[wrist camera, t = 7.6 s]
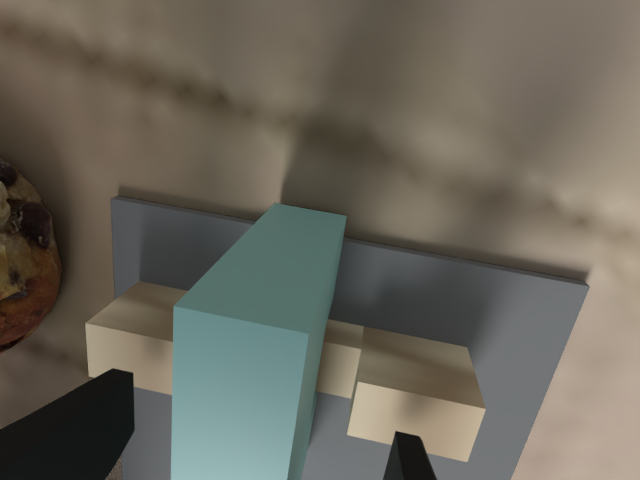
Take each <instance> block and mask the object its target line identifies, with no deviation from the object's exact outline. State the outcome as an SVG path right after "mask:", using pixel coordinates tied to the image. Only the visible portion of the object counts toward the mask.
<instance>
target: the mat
mask: <svg viewBox="0 0 640 480" xmlns="http://www.w3.org/2000/svg"><path fill="white" fill-rule="evenodd" d="M111 218H112V243H113V267H114V291H115V299H117V298H118V297H119V296H121V295H122V294H123V293H124V292H126V291H127V290H128V289H130V288H131V287H132V286H133V285H135V284H136V283H137V282H139V281H141V282H146V283H151V284H156V285H161V286H166V287H171V288H176V289H181V290H186V291H189V290H190V289H191V288H192V287H193V286H194V285H195V284H196V283H197V282H198V281H199V280H200V279H201V278H202V277H203V276H204V275H205V274H206V272H207V271H208V270H209V269H210V268H211V267H212V266H213V265H214V264H215V263H216V262H217V261H218V260H219V259H220V258H221V257H222V256H223V255H224V254H225V253H226V252H227V251H228V250H229V249H230V248H231V247H232V246H233V245H234V244H235V243H236V242H237V241H238V240H239V239H240V238H241V237H242V236H243V235H244V234H245V233H246V232H247V231H248V230H249V229H250V228H251V227H252V226H253V225H254V224H255V223H256V222H257V221H252V220H247V219H241V218H236V217H230V216H225V215H219V214H214V213H209V212H203V211H198V210H192V209H187V208H181V207H176V206H170V205H165V204H159V203H154V202H148V201H143V200H137V199H132V198H127V197H121V196H116V197H113V198H111ZM589 287H590V286H589V285H588V284H587V283H586V282H585V281H580V280H575V279H569V278H564V277H559V276H553V275H548V274H542V273H537V272H531V271H526V270H520V269H515V268H509V267H504V266H498V265H493V264H487V263H482V262H477V261H471V260H466V259H460V258H455V257H449V256H444V255H438V254H433V253H427V252H422V251H416V250H411V249H405V248H400V247H394V246H389V245H384V244H378V243H373V242H367V241H362V240H356V239H351V238H345V237H343V243H342V249H341V255H340V261H339V266H338V272H337V278H336V284H335V290H334V296H333V300H332V304H331V308H330V312H329V316H328V319H330V320H335V321H339V322H344V323H349V324H354V325H359V326H364V327H369V328H374V329H379V330H384V331H389V332H394V333H399V334H404V335H409V336H414V337H419V338H424V339H429V340H434V341H439V342H443V343H448V344H453V345H458V346H463V347H467V348H468V351H469V355H470V358H471V361H472V365H473V368H474V371H475V374H476V378H477V381H478V384H479V388H480V391H481V394H482V398H483V401H484V404H485V407H486V410H485V413H484V416H483V419H482V422H481V425H480V427H479V430H478V433H477V436H476V439H475V442H474V444H473V447H472V450H471V453H470V456H469V459H468V461H467V462H464V461H460V460H455V459H451V458H446V457H442V456H438V455H433V454H429V453H427V455H428V458H429V460H430V463H431V465H432V468H433V470H434V473H435V475H436V478H437V480H511V477H512V475H513V472H514V470H515V467H516V465H517V463H518V460H519V458H520V455H521V453H522V450H523V448H524V446H525V443H526V441H527V438H528V436H529V433H530V431H531V428H532V426H533V424H534V421H535V419H536V416H537V414H538V411H539V409H540V407H541V404H542V402H543V399H544V397H545V394H546V392H547V390H548V387H549V385H550V382H551V380H552V377H553V375H554V372H555V370H556V368H557V365H558V363H559V360H560V358H561V355H562V353H563V351H564V348H565V346H566V343H567V341H568V338H569V336H570V334H571V331H572V329H573V326H574V324H575V321H576V319H577V316H578V314H579V312H580V309H581V307H582V304H583V302H584V299H585V297H586V295H587V292H588V290H589ZM350 404H351V399H350V398H346V397H341V396H337V395H332V394H327V393H323V392H318V391H317V397H316V403H315V409H314V415H313V420H312V426H311V432H310V438H309V444H308V450H307V454H306V459H305V463H304V468H303V472H302V477H301V480H383V477H384V473H385V469H386V465H387V462H388V458H389V454H390V450H391V446H392V445H389V444H385V443H380V442H376V441H372V440H367V439H363V438H358V437H354V436H350V435H347V429H348V421H349V412H350ZM134 422H135V431H134V433H133V434H132V436H131V438H130V440H129V442H128V443H127V445H126V447H125V449H124V450H123V452H122V454H121V462H122V480H171V437H172V395H169V394H164V393H160V392H156V391H151V390H147V389H142V388H138V387H134Z"/></svg>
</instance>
